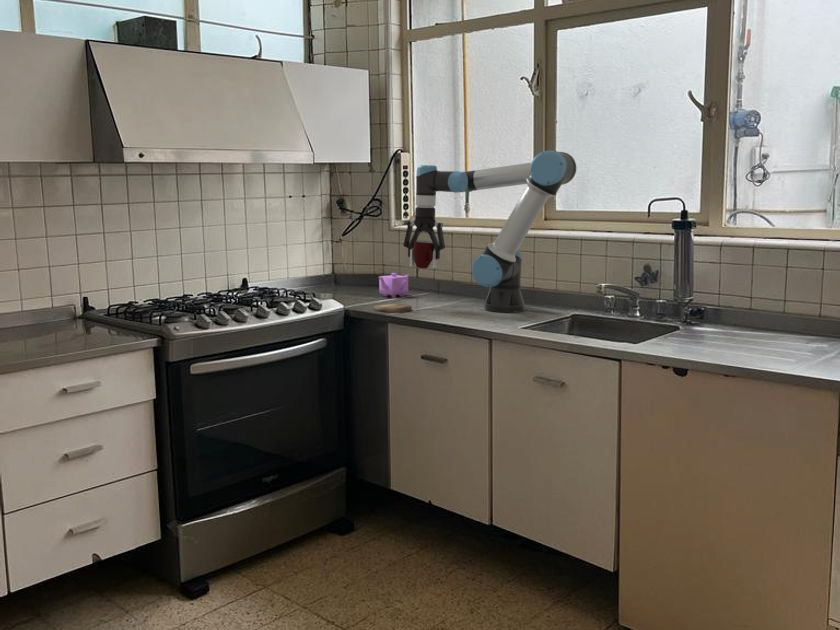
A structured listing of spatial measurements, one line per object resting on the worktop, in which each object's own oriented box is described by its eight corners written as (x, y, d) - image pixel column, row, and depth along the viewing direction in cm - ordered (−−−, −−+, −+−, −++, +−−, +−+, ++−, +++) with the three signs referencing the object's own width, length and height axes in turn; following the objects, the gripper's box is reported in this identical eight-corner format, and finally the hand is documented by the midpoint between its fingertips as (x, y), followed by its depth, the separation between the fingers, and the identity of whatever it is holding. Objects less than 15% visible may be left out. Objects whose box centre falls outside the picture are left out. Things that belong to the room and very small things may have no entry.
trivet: (417, 308, 328) (417, 305, 328) (403, 313, 315) (403, 310, 315) (383, 306, 333) (383, 302, 333) (368, 310, 320) (368, 307, 320)
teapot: (389, 300, 351) (390, 276, 349) (368, 296, 360) (368, 273, 358) (421, 296, 363) (421, 273, 362) (399, 293, 373) (399, 270, 371)
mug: (440, 270, 325) (443, 244, 323) (423, 270, 320) (426, 243, 318) (424, 265, 333) (426, 240, 331) (407, 266, 329) (409, 239, 327)
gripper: (455, 207, 322) (453, 268, 326) (403, 205, 331) (401, 264, 334) (448, 208, 316) (446, 269, 319) (395, 205, 324) (393, 265, 327)
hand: (423, 266), depth 327 cm, fingers closed on mug, 9 cm apart
